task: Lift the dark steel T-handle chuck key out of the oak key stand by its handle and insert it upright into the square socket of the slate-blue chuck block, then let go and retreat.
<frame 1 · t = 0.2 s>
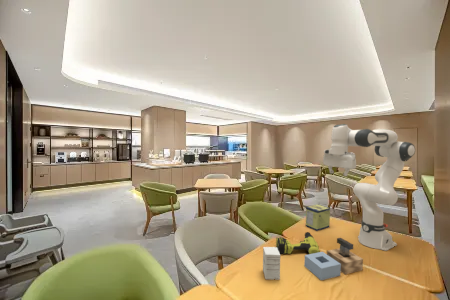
hand: (338, 174, 125), 47 cm above the table, fingers open, 8 cm apart
key stand: (343, 265, 113), on the table
protein box: (317, 227, 163), on the table
cordless drill: (295, 246, 133), on the table
supplement box: (271, 275, 105), on the table
chuck block: (321, 270, 108), on the table
chuck key: (344, 253, 113), in the key stand
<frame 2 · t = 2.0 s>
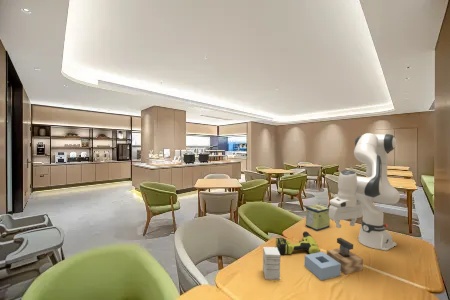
hand: (345, 226, 112), 22 cm above the table, fingers open, 8 cm apart
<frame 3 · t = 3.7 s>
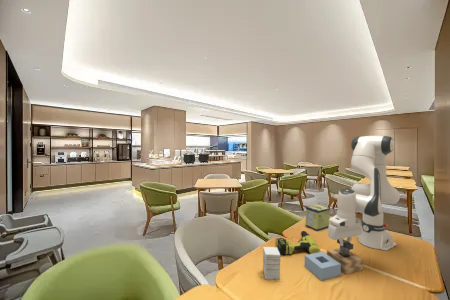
hand: (344, 244, 113), 12 cm above the table, fingers closed on chuck key, 2 cm apart
chuck key: (344, 253, 113), in the key stand, touching gripper
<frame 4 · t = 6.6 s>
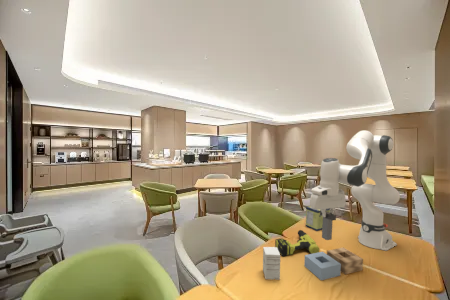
hand: (327, 216, 107), 28 cm above the table, fingers closed on chuck key, 2 cm apart
chuck key: (327, 225, 108), point 24 cm above the table, touching gripper
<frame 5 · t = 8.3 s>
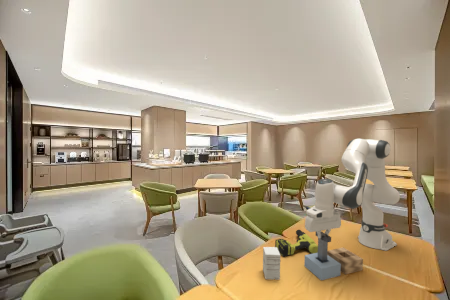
hand: (322, 237, 107), 18 cm above the table, fingers closed on chuck key, 2 cm apart
chuck key: (322, 246, 108), point 13 cm above the table, touching gripper
when the fingers open (13 cm above the table, at t = 9.4 s): chuck key drops 2 cm, resting in chuck block.
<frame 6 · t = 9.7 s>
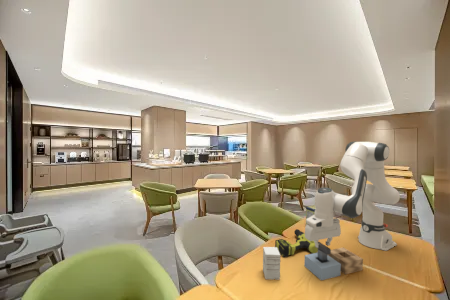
hand: (322, 246, 108), 13 cm above the table, fingers open, 5 cm apart
chuck key: (322, 258, 108), in the chuck block
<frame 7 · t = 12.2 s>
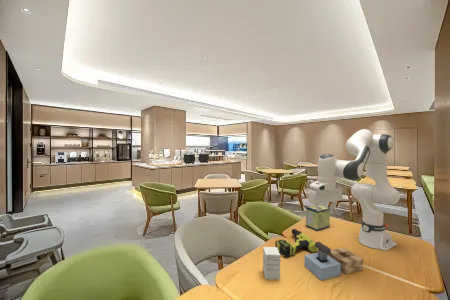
hand: (325, 209, 113), 30 cm above the table, fingers open, 8 cm apart
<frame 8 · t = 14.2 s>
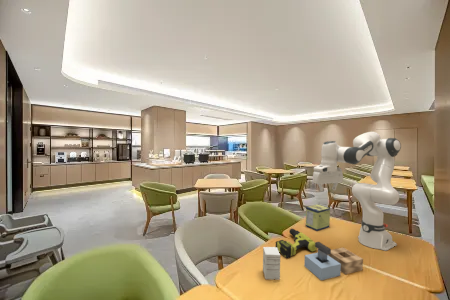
hand: (327, 190, 127), 37 cm above the table, fingers open, 8 cm apart
at the end: chuck key 0.1 cm off-centre on the chuck block, point 6.7 cm above the chuck block's base; chuck key tilted 0°; the gripper is holding nothing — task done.
